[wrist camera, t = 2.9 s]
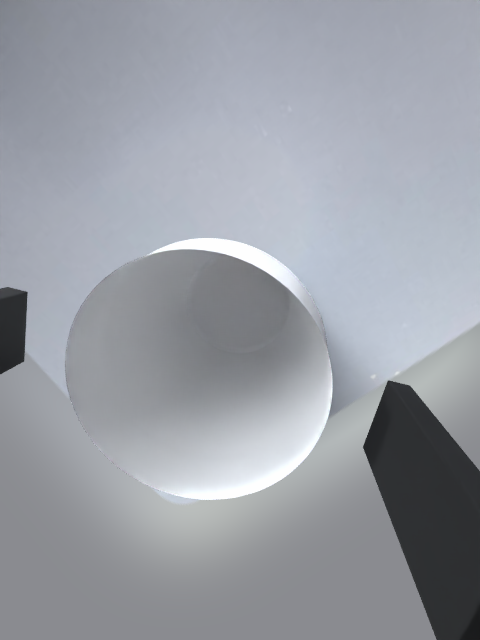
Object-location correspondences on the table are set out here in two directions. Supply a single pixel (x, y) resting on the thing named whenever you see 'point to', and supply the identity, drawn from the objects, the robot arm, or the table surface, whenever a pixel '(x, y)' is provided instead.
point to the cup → (201, 369)
